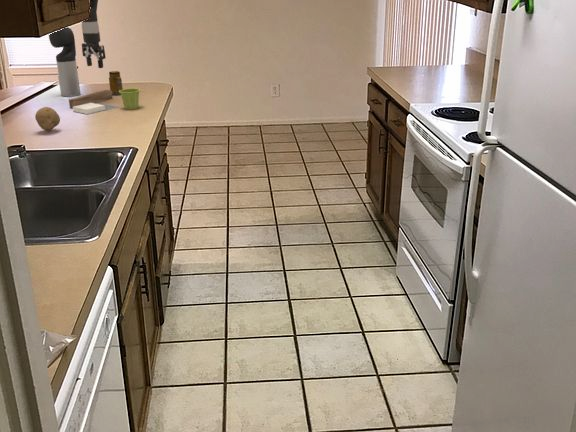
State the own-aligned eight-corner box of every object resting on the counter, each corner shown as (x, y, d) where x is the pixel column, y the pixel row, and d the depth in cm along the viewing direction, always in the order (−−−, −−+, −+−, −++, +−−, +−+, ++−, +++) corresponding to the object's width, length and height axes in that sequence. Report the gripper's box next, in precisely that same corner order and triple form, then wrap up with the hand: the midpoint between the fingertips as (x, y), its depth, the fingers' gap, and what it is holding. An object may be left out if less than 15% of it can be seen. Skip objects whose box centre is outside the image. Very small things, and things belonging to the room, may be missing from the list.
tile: (91, 107, 286) (73, 111, 279) (91, 102, 285) (72, 106, 278) (105, 110, 280) (86, 114, 273) (104, 105, 280) (86, 109, 272)
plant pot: (116, 110, 282) (114, 91, 279) (130, 106, 290) (128, 87, 287) (132, 112, 278) (130, 93, 275) (146, 107, 286) (144, 89, 283)
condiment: (120, 93, 317) (117, 70, 312) (128, 96, 311) (125, 72, 306) (107, 95, 313) (104, 71, 308) (114, 98, 307) (111, 74, 302)
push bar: (70, 110, 285) (68, 99, 283) (107, 99, 305) (106, 89, 303) (75, 110, 284) (74, 100, 282) (112, 100, 303) (111, 90, 301)
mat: (74, 110, 283) (74, 109, 282) (101, 104, 294) (101, 103, 293) (93, 114, 275) (92, 113, 274) (120, 108, 286) (119, 107, 285)
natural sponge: (54, 127, 255) (50, 103, 252) (66, 130, 250) (62, 106, 246) (34, 131, 249) (29, 107, 245) (45, 135, 244) (41, 110, 240)
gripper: (74, 31, 286) (79, 66, 292) (93, 33, 278) (98, 69, 284) (88, 29, 291) (92, 64, 298) (107, 31, 283) (111, 67, 290)
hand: (95, 66), depth 291 cm, fingers open, 8 cm apart
